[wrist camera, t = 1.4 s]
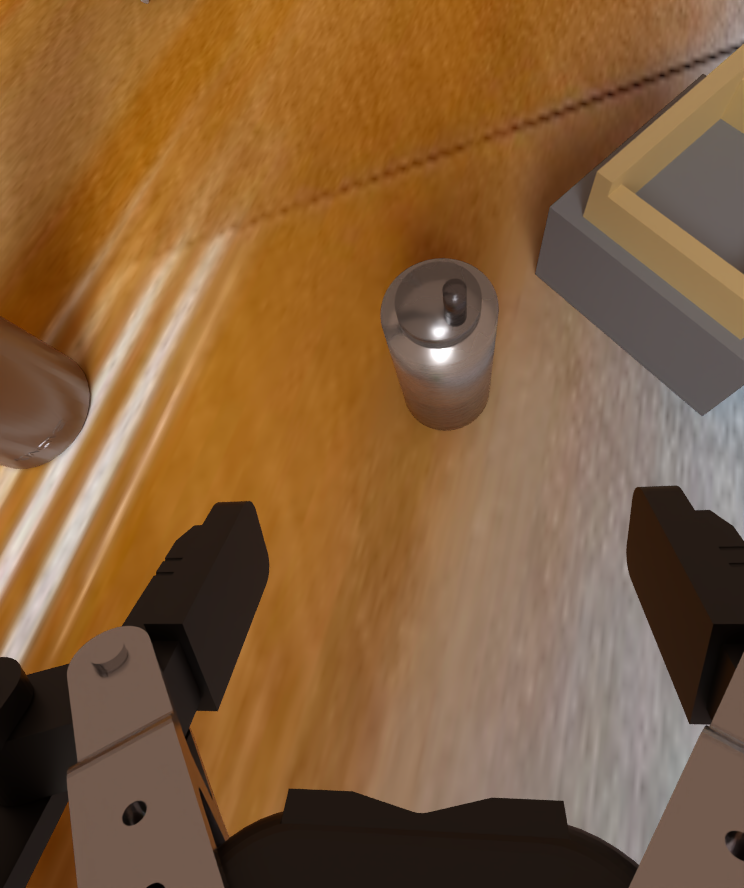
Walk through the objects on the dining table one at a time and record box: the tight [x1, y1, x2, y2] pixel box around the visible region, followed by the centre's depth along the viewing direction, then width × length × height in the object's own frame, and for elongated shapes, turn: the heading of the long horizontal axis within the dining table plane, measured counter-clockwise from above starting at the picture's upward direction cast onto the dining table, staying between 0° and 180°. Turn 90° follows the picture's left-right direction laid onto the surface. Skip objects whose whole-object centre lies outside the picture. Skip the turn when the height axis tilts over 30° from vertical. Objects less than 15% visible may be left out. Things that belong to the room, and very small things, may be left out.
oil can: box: [381, 258, 499, 431], centre depth 31 cm, size 6×6×14 cm
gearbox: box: [535, 44, 744, 416], centre depth 31 cm, size 17×12×10 cm
